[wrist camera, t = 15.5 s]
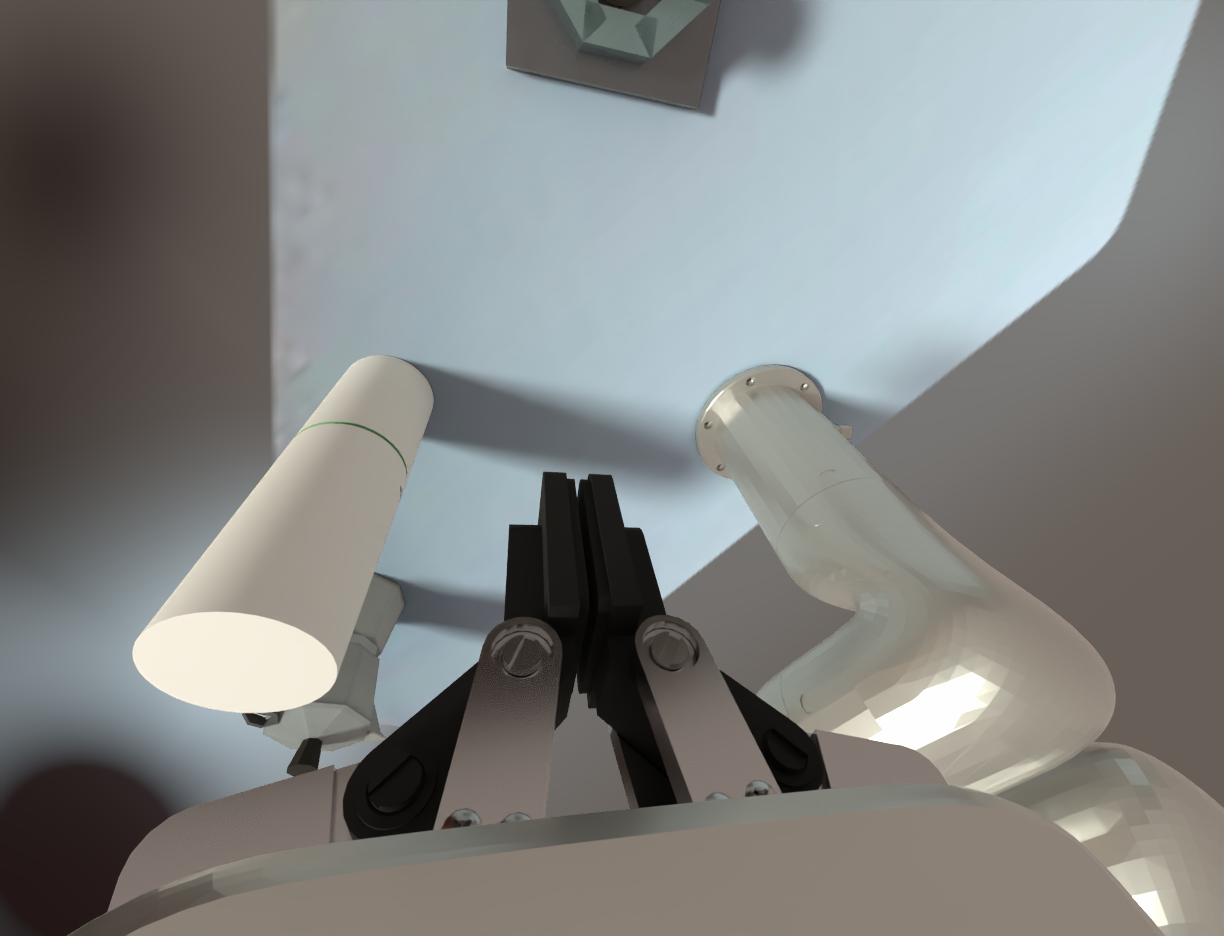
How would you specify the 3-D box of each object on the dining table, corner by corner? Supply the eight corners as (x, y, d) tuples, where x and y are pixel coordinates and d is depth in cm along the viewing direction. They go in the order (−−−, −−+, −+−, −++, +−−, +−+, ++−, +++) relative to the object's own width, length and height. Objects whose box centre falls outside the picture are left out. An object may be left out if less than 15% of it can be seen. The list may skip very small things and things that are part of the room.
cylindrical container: (339, 420, 40) (145, 708, 20) (345, 343, 36) (117, 600, 16) (426, 440, 42) (332, 716, 22) (440, 369, 39) (343, 623, 19)
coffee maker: (436, 599, 54) (402, 768, 40) (391, 637, 57) (345, 807, 43) (310, 539, 47) (212, 720, 32) (265, 585, 49) (156, 772, 35)
